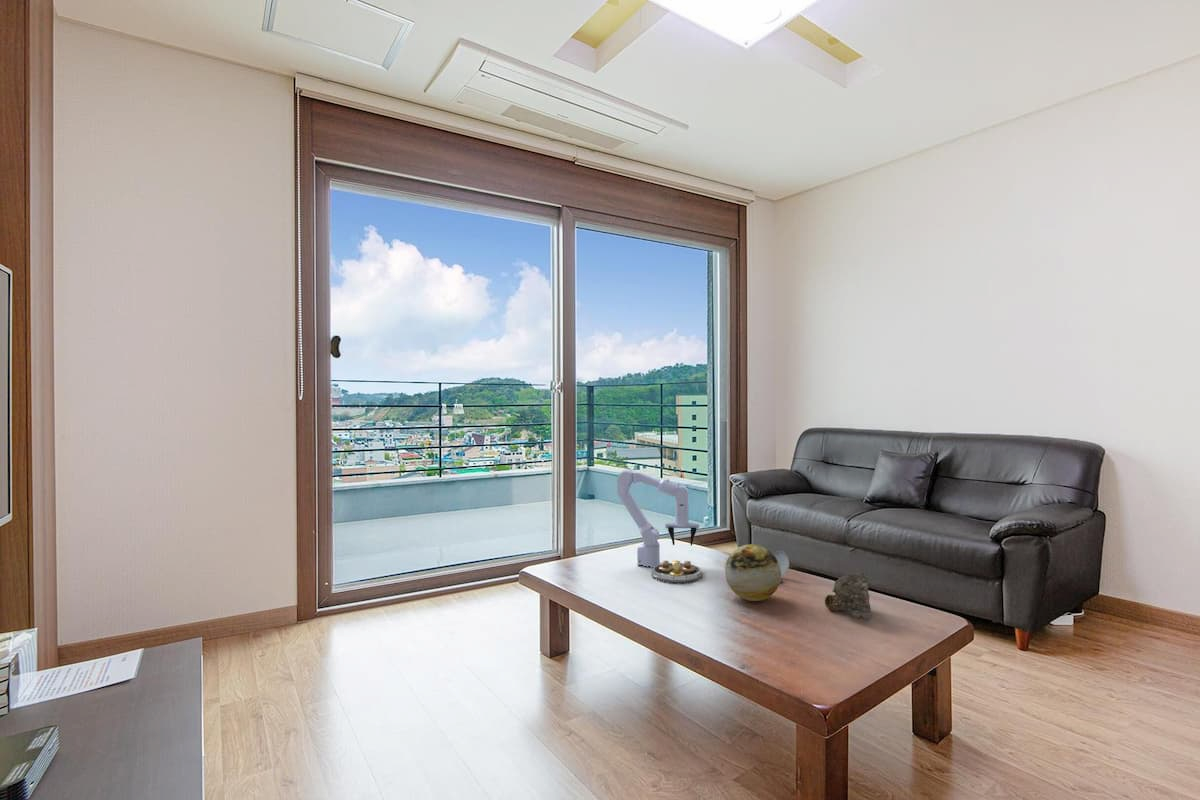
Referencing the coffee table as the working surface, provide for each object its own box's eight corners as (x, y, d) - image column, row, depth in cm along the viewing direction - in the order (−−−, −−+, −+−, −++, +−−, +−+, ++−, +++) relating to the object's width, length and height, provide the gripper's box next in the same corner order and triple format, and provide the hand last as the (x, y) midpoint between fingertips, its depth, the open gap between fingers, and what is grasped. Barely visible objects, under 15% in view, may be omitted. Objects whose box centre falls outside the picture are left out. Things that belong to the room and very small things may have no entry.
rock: (880, 568, 200) (832, 556, 206) (874, 609, 192) (824, 595, 198) (874, 592, 213) (829, 580, 219) (868, 631, 205) (821, 617, 211)
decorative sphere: (718, 604, 218) (717, 548, 218) (733, 588, 235) (732, 536, 235) (775, 612, 209) (774, 554, 208) (786, 595, 226) (785, 541, 226)
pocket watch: (791, 553, 244) (765, 559, 236) (792, 580, 244) (765, 587, 236) (772, 548, 253) (746, 553, 245) (772, 574, 253) (746, 580, 245)
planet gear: (666, 577, 246) (666, 562, 246) (672, 573, 251) (672, 559, 251) (680, 579, 243) (680, 564, 243) (686, 575, 248) (686, 560, 248)
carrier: (643, 579, 249) (643, 566, 249) (663, 566, 267) (663, 554, 267) (691, 586, 239) (691, 573, 239) (708, 572, 257) (708, 560, 257)
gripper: (664, 515, 264) (665, 546, 264) (698, 515, 261) (699, 547, 261) (665, 512, 271) (666, 542, 271) (698, 512, 268) (699, 543, 268)
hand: (682, 544), depth 267 cm, fingers open, 7 cm apart
